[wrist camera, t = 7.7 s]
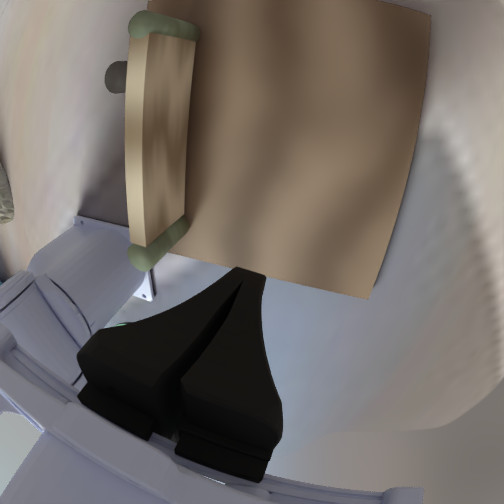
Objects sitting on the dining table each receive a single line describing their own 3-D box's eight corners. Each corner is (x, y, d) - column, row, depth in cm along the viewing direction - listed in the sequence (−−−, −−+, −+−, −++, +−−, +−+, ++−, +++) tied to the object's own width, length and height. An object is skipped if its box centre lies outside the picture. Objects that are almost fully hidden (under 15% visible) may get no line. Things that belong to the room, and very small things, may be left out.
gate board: (156, 242, 25) (123, 273, 21) (155, 3, 15) (110, -9, 10) (367, 291, 22) (368, 338, 17) (426, 19, 11) (452, -2, 7)
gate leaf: (188, 238, 22) (153, 275, 18) (166, 232, 23) (129, 266, 19) (204, 23, 14) (159, 7, 10) (176, 24, 14) (127, 13, 10)
